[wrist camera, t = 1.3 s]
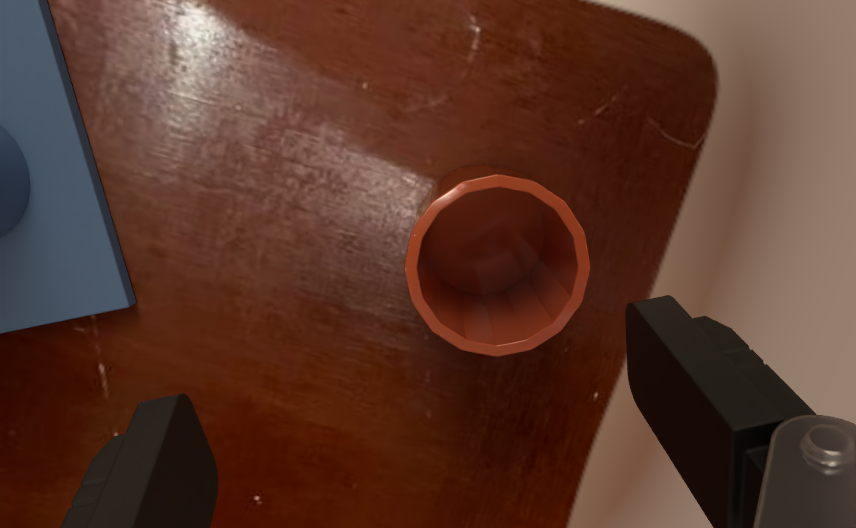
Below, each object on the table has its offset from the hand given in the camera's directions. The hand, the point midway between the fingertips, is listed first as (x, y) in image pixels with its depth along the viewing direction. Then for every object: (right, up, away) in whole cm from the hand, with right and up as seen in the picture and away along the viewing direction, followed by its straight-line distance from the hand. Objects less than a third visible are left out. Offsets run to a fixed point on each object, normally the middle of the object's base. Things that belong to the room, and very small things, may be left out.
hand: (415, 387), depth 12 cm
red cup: (+3, +4, +18) cm, 18 cm away
